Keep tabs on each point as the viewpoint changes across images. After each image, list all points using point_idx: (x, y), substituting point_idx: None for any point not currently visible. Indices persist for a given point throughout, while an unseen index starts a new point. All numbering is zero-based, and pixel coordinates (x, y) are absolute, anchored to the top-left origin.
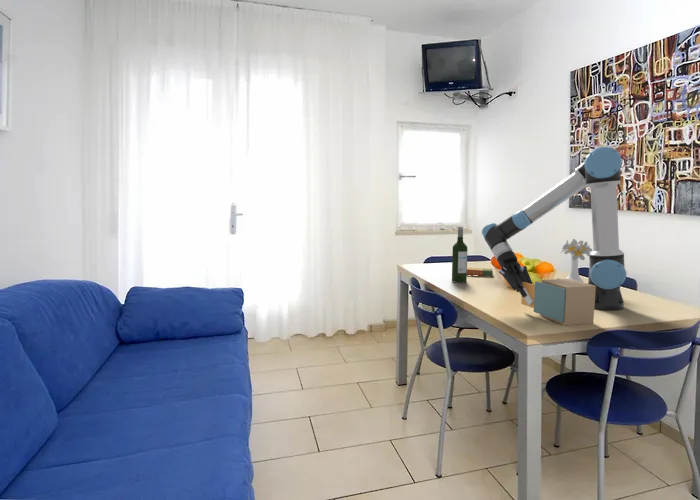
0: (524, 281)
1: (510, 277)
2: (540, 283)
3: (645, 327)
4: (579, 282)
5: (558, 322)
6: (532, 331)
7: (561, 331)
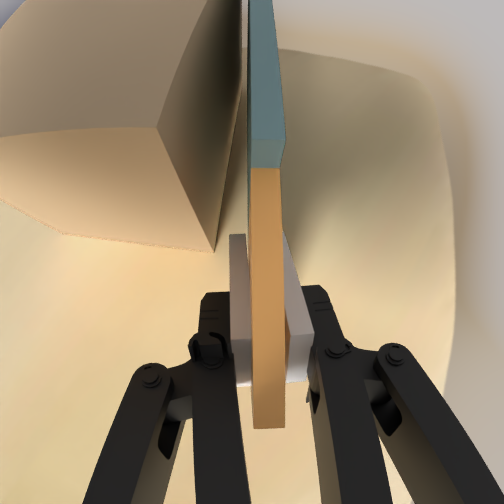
0: (240, 433)
1: (470, 458)
2: (277, 66)
3: None
4: (14, 24)
5: (236, 115)
6: (405, 92)
7: (308, 55)
